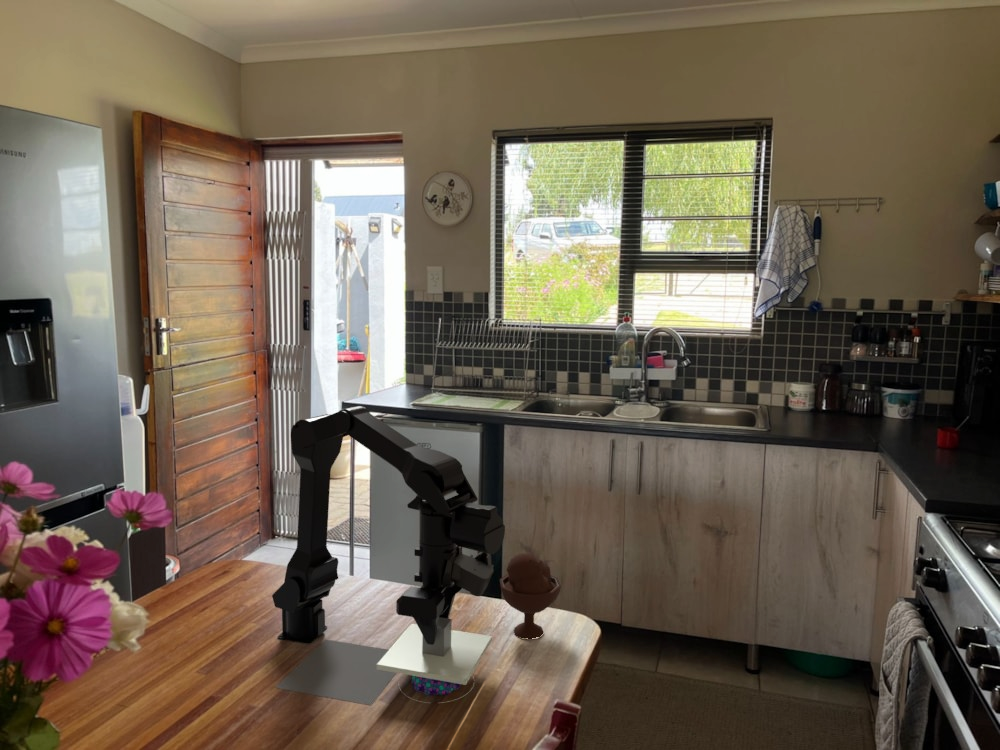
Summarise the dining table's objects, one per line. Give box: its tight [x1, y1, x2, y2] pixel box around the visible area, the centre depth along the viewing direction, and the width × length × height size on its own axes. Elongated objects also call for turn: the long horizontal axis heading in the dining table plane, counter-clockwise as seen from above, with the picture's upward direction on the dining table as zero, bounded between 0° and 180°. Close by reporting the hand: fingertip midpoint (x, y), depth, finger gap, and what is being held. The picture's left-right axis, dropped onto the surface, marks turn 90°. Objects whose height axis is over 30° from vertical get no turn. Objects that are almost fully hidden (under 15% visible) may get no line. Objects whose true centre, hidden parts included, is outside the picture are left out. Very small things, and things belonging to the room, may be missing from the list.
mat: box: [274, 639, 397, 706], centre depth 121 cm, size 16×16×1 cm
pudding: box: [398, 674, 475, 704], centre depth 118 cm, size 12×12×5 cm
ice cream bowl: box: [499, 552, 562, 639], centre depth 135 cm, size 11×11×15 cm
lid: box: [377, 617, 493, 686], centre depth 118 cm, size 14×14×5 cm
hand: (436, 635), depth 117 cm, fingers open, 5 cm apart
